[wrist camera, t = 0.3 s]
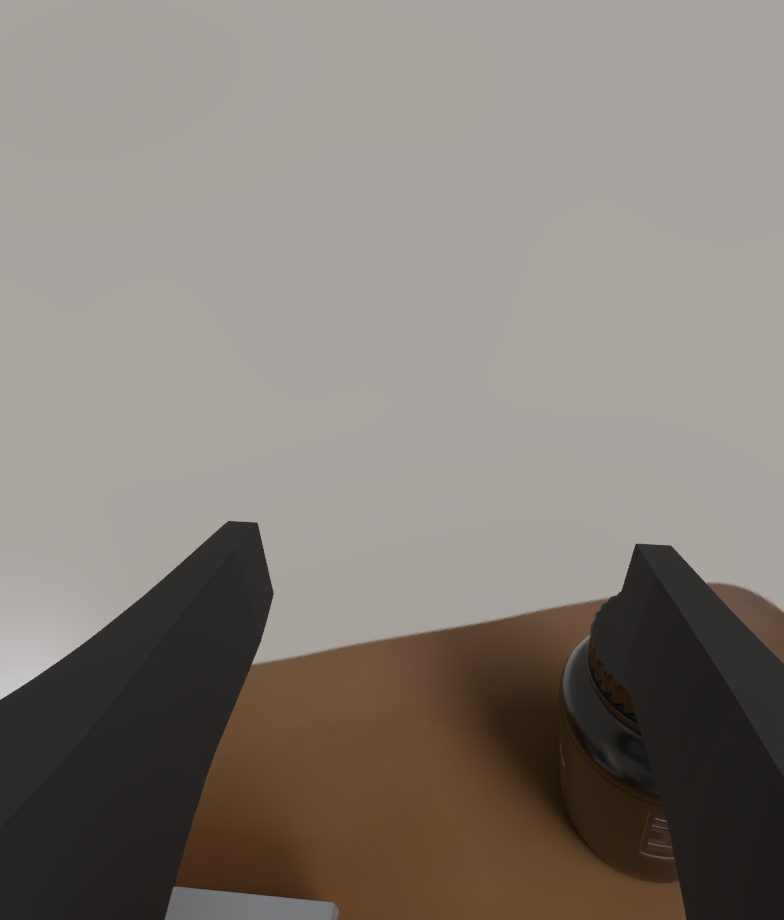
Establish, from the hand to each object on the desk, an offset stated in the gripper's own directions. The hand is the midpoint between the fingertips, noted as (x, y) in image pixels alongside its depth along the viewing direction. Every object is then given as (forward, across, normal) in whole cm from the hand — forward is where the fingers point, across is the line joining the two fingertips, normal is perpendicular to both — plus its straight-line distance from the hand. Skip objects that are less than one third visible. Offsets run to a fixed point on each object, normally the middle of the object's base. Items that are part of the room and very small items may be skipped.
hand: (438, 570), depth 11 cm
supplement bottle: (+5, -9, +19) cm, 22 cm away
